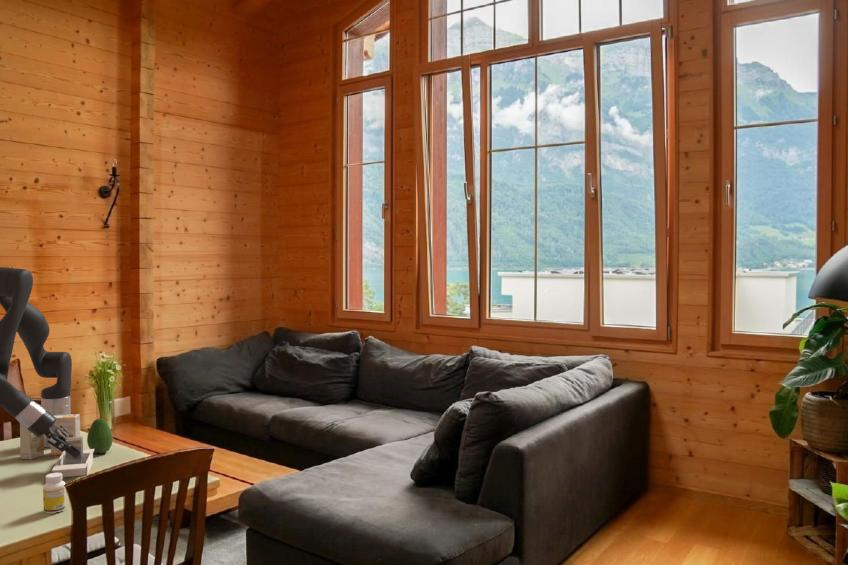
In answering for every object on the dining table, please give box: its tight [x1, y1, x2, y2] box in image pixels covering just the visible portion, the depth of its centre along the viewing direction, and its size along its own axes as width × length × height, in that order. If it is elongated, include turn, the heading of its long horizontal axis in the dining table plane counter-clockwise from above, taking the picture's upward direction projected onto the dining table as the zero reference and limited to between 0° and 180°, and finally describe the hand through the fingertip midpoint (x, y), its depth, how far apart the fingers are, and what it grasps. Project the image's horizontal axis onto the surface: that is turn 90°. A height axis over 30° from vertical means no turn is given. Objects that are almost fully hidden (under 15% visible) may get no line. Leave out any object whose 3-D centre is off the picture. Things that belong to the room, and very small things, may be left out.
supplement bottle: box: [42, 472, 67, 514], centre depth 189 cm, size 5×5×10 cm
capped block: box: [65, 436, 84, 465], centre depth 223 cm, size 4×4×10 cm
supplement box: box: [50, 413, 81, 456], centre depth 241 cm, size 8×5×13 cm, turn 97°
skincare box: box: [19, 423, 45, 460], centre depth 237 cm, size 6×4×12 cm
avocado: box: [86, 418, 114, 454], centre depth 241 cm, size 8×8×12 cm
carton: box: [51, 448, 95, 478], centre depth 223 cm, size 21×9×4 cm, turn 18°
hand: (79, 453), depth 224 cm, fingers closed on capped block, 4 cm apart
